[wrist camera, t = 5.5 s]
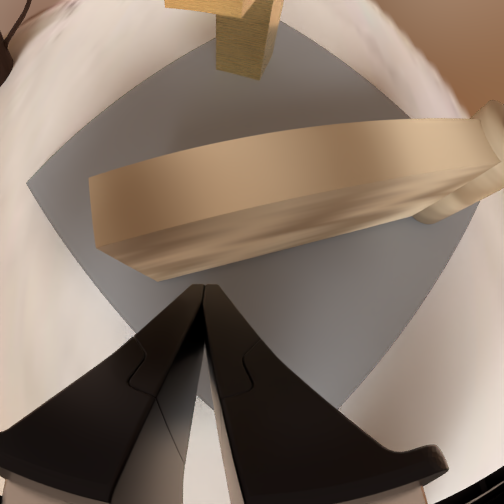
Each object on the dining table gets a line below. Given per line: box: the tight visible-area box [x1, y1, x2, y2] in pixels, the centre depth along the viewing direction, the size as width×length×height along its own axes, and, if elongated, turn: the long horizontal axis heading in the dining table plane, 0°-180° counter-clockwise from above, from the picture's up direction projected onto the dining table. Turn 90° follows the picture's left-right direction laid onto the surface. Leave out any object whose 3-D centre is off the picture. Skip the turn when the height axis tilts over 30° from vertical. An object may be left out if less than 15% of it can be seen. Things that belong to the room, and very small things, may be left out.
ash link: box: [89, 100, 504, 282], centre depth 12 cm, size 18×4×8 cm, turn 105°
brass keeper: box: [164, 0, 284, 81], centre depth 14 cm, size 3×8×11 cm, turn 161°
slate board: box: [26, 21, 480, 410], centre depth 17 cm, size 22×22×2 cm
